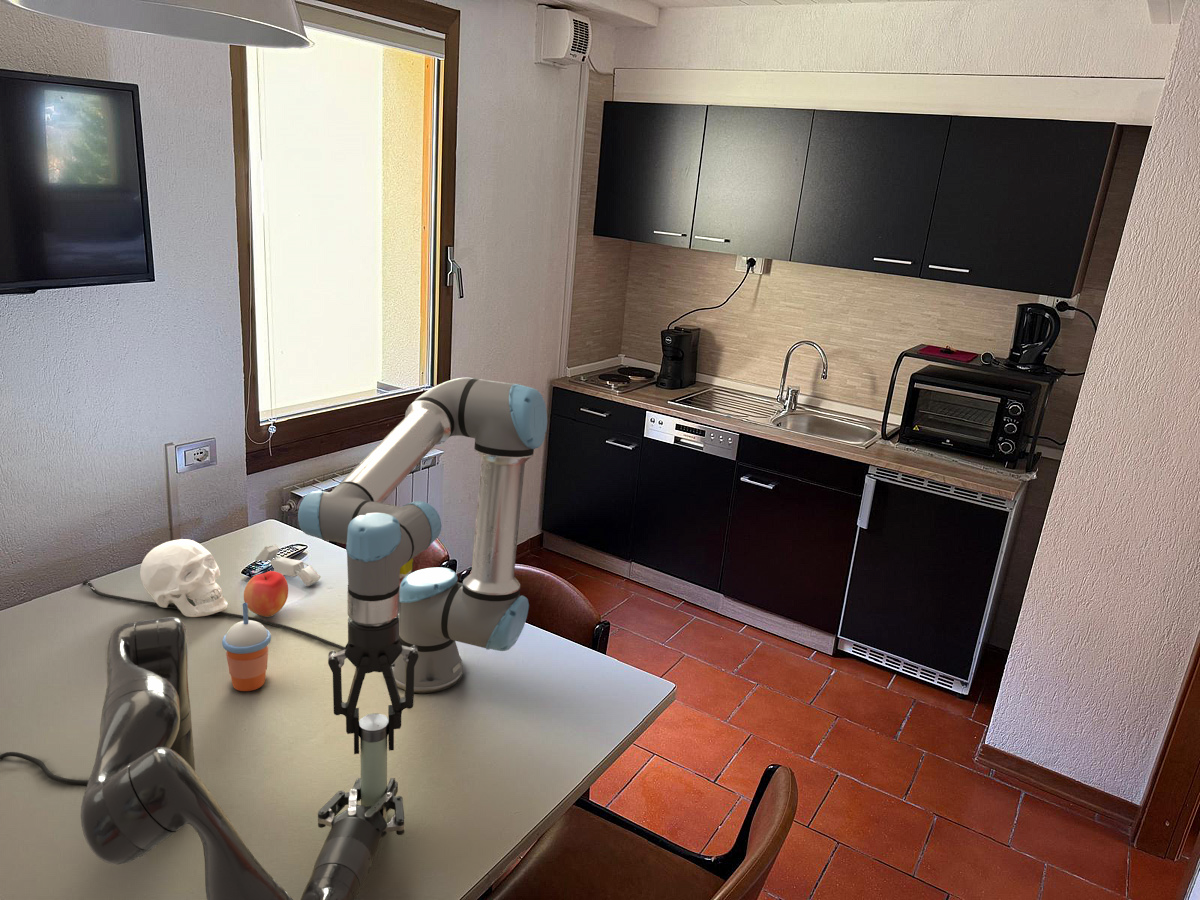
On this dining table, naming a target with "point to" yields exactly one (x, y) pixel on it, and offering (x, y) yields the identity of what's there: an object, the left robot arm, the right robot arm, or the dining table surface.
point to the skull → (183, 577)
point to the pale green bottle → (373, 771)
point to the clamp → (288, 565)
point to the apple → (266, 593)
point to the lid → (373, 727)
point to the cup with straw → (247, 653)
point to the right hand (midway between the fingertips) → (373, 746)
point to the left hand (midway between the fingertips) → (378, 781)
